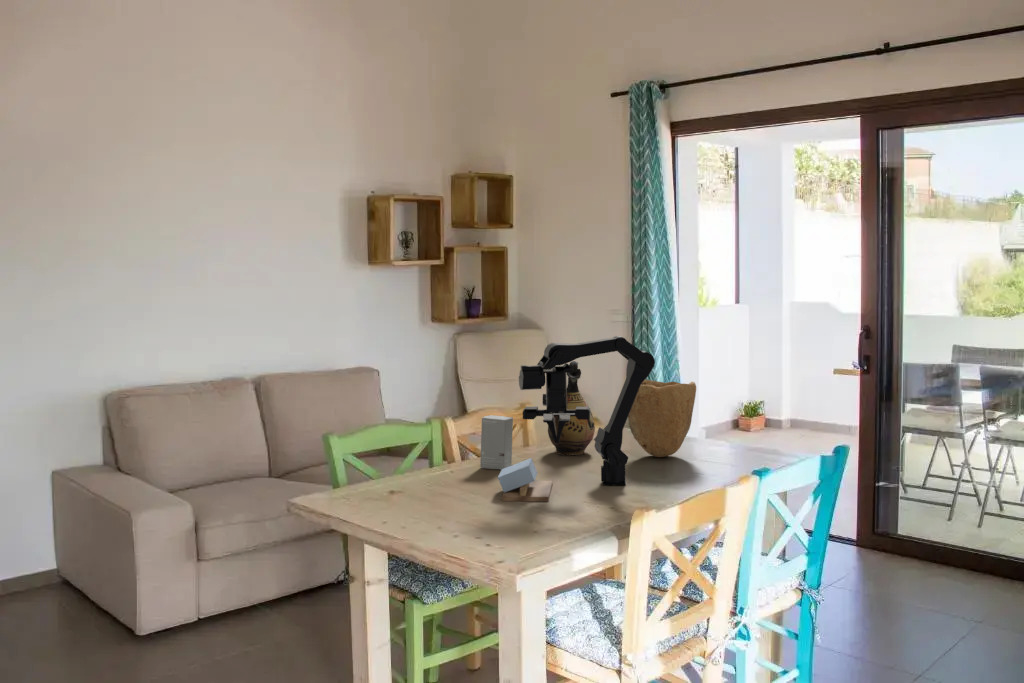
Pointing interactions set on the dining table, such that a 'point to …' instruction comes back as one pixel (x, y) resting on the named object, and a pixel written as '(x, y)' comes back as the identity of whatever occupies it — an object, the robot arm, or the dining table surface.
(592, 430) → the ceramic jug
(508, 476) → the blue block
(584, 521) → the dining table surface
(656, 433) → the brown stone pot
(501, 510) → the dining table surface
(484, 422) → the skincare box
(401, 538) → the dining table surface
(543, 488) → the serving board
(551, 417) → the robot arm
